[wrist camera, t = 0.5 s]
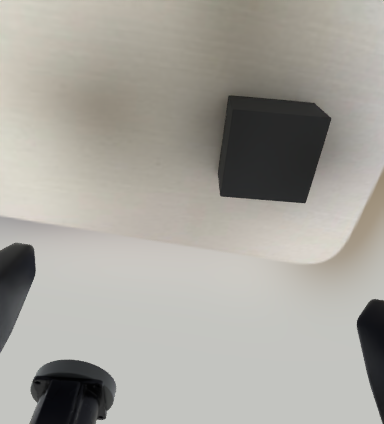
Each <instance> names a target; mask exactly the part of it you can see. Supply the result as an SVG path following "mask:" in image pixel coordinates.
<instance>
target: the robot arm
mask: <svg viewBox="0 0 384 424" xmlns="http://www.w3.org/2000/svg"><path fill="white" fill-rule="evenodd" d="M35 271H36V270H35V256H34V248H33V246H31V245H28V244H22V243H14V244H12V245H10V246H8V247H6V248H4V249H2V250H0V352H1V351H2V349H3V347H4V345H5V343H6V342H7V340H8V338H9V336H10V334H11V332H12V329H13V327H14V325H15V323H16V320H17V318H18V315H19V313H20V311H21V308H22V306H23V303H24V301H25V299H26V296H27V294H28V291H29V289H30V287H31V284H32V282H33V280H34V276H35ZM357 330H358V334H359V339H360V343H361V348H362V352H363V357H364V361H365V366H366V370H367V374H368V378H369V382H370V386H371V389H372V392H373V395H374V398H375V401H376V404H377V407H378V411H379V414H380V417H381V420H382V423H383V424H384V300H376V299H373V300H371V301H370V302H369V303H368V304H367V306H366V307H365V309H364V310H363V312H362V313H361V315H360V316H359V318H358V320H357ZM33 386H34V389H35V392H36V396H37V399H38V404H37V407H36V409H35V411H34V414H33V416H32V419H31V421H30V424H96V420H97V419H98V420H103V419H105V418H106V414H107V411H106V401H105V391H104V383H103V381H101V380H97V379H83V378H68V377H53V376H35V377H34V379H33Z"/></svg>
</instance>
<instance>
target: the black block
mask: <svg viewBox="0 0 384 424" xmlns="http://www.w3.org/2000/svg"><path fill="white" fill-rule="evenodd" d="M330 122H331V117H329V116H328V115H327V114H326V113H325V112H324V111H323V110H321V109H320V108H319V107H318V106H317V105H316V104H315V103H308V102H297V101H286V100H275V99H263V98H252V97H241V96H229V97H228V104H227V111H226V118H225V126H224V133H223V141H222V148H221V155H220V163H219V170H218V178H219V188H220V196H223V197H236V198H248V199H260V200H272V201H284V202H296V203H306V200H307V197H308V194H309V190H310V187H311V184H312V181H313V177H314V174H315V171H316V167H317V164H318V161H319V158H320V154H321V151H322V148H323V145H324V141H325V138H326V135H327V131H328V128H329V125H330Z"/></svg>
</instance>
